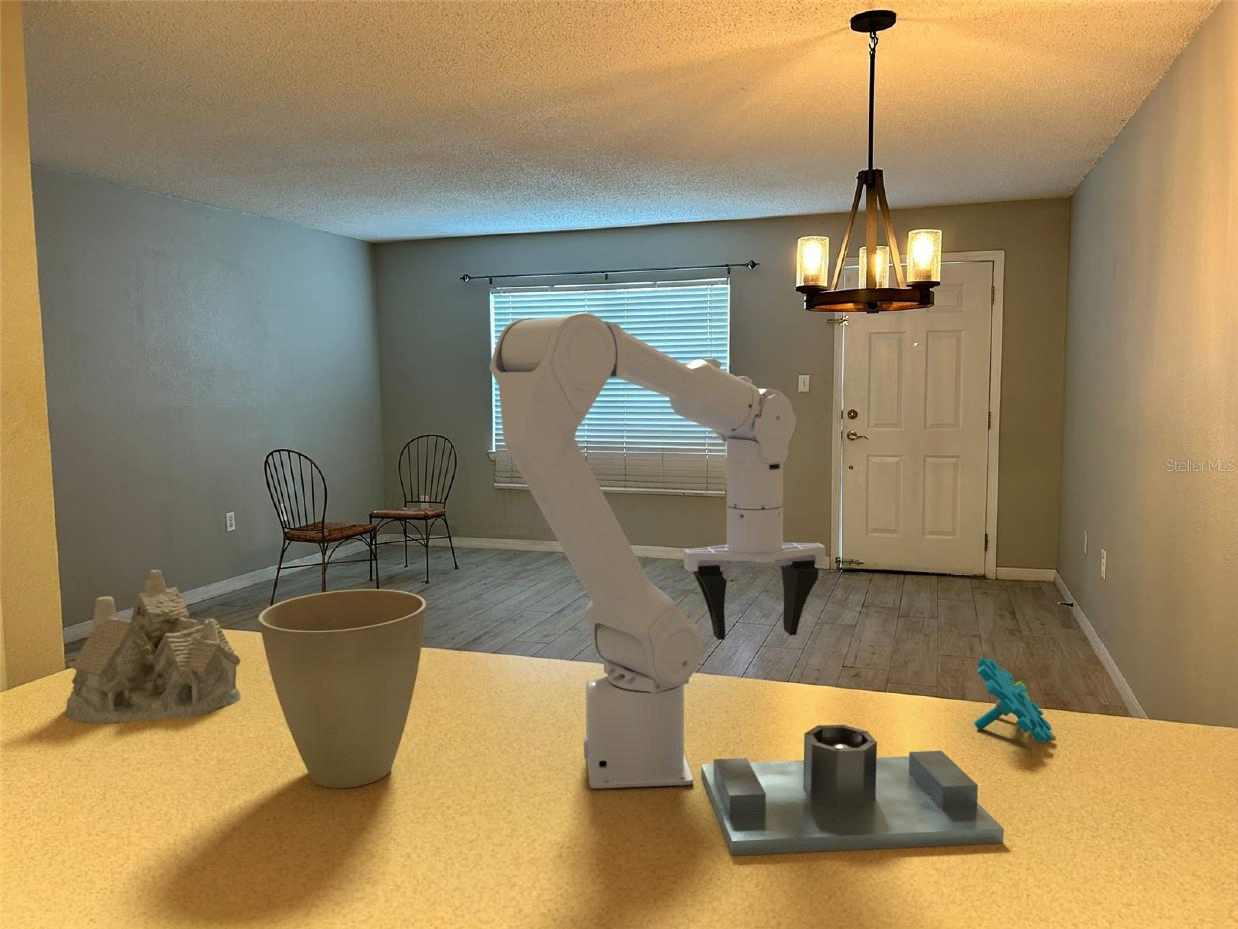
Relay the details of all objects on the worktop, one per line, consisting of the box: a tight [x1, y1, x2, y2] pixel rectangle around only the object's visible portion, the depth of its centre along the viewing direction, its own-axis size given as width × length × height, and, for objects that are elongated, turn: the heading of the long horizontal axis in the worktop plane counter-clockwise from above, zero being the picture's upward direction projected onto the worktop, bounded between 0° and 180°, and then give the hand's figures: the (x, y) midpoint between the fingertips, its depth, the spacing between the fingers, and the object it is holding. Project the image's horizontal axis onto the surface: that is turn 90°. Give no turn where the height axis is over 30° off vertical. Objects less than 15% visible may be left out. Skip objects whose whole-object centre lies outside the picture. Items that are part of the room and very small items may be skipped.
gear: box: [973, 657, 1054, 744], centre depth 95 cm, size 11×6×10 cm
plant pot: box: [258, 588, 427, 789], centre depth 85 cm, size 15×15×16 cm
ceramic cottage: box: [65, 569, 242, 725], centre depth 103 cm, size 16×16×15 cm
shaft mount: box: [700, 744, 1005, 856], centre depth 78 cm, size 22×14×6 cm, turn 95°
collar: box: [803, 724, 878, 809], centre depth 78 cm, size 6×6×5 cm
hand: (754, 634), depth 94 cm, fingers open, 7 cm apart
